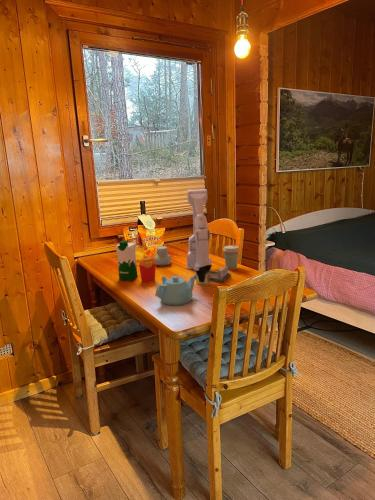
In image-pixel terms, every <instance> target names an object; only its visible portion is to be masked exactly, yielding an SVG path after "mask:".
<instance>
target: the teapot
mask: <svg viewBox="0 0 375 500" xmlns="http://www.w3.org/2000/svg"><path fill="white" fill-rule="evenodd" d="M195 280H196V279H195V277H193V276H190V279H189V280H188V281H187V280H186V279H184V278H182V277H179V276H177V275H176V276H175V275H174V276H172V277H171V278H167V277H166V276H161V281H162V284H157V287H156V290H155V293H154V296H155V297H157V298H158V299H160V300H161V302H162V303H163V304H165V305H167V306H171V305H172V306H176V307H177V306H183V305H186V304H188V303H189V302H190V301H191V300H192V299H193V289H194V286H195V285H194V284H195V282H196V281H195Z"/></svg>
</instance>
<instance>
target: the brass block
mask: <svg viewBox="0 0 375 500" xmlns="http://www.w3.org/2000/svg"><path fill="white" fill-rule="evenodd" d="M210 271H211V270H210ZM210 271H206V272H205V276H204V282H199V279H198V275H197V273H195V275H196V279H195V280H196V281H195V284H196V285H201V286H202V285H203V286H209V285H210V284H211V282H212V281H211V272H210Z"/></svg>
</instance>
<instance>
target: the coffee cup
mask: <svg viewBox="0 0 375 500" xmlns="http://www.w3.org/2000/svg"><path fill="white" fill-rule="evenodd" d="M222 251H223V256H224V263H225V265H224V266H227V267H228V271H235V270H237V267H238V260H239V252H240V248H239V246H238V245H233V244H230V245H225V246H224V247H223V249H222Z"/></svg>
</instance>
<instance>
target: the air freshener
mask: <svg viewBox="0 0 375 500" xmlns="http://www.w3.org/2000/svg"><path fill="white" fill-rule="evenodd" d="M156 251H157V252H156V254H155V255H154V257H155V258H156V262H155V263H156V266H161V267H163V266H168V265H170V264H171V262H172V256H171V255H170V254H168V252H169V251H168V247H167V246H164V245H163V246H158V247H157V248H156Z"/></svg>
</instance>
